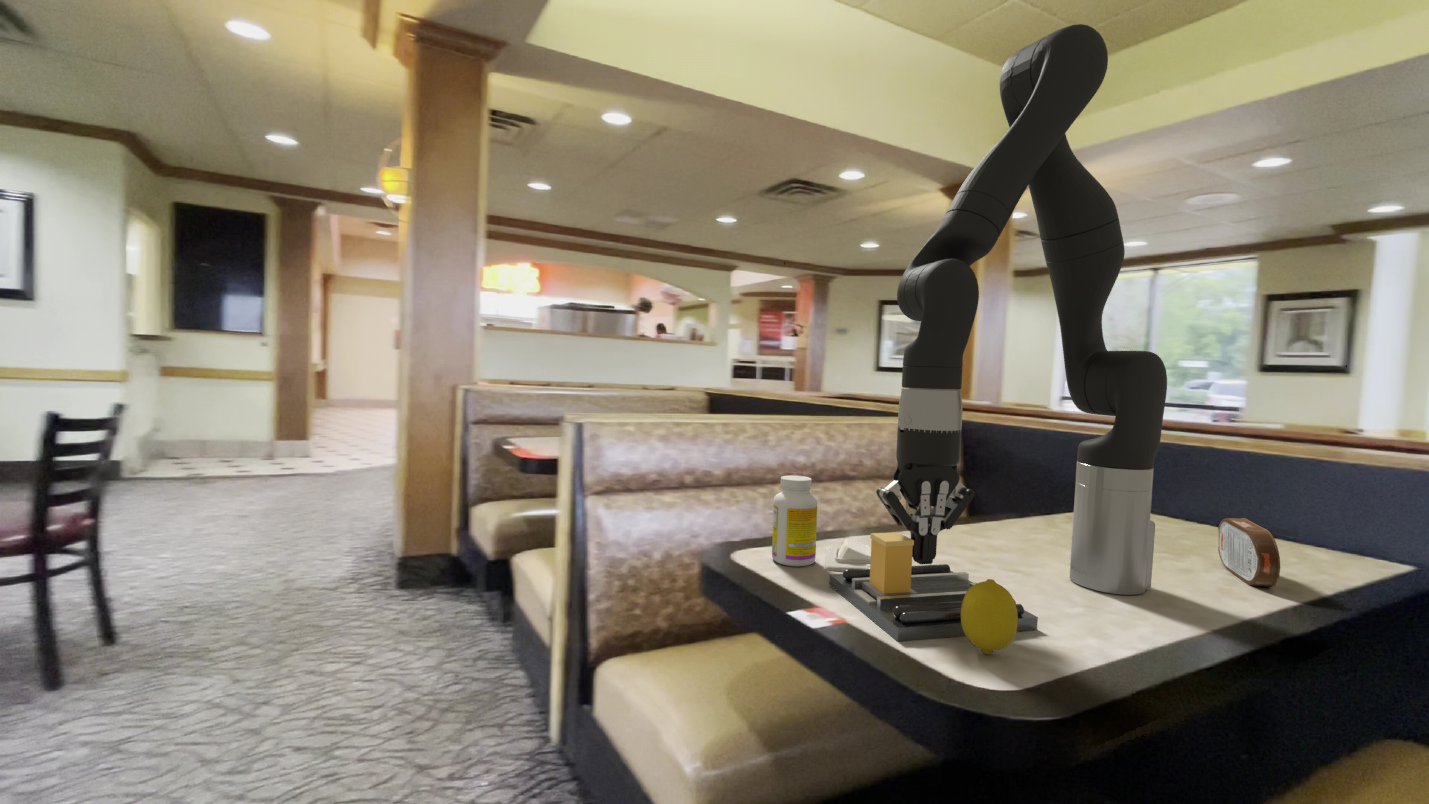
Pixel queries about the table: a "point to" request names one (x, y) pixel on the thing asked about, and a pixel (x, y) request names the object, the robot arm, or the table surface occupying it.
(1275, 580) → the tin
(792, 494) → the supplement bottle
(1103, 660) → the table surface
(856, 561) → the light switch
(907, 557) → the lever
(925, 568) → the panel
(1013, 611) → the lemon
